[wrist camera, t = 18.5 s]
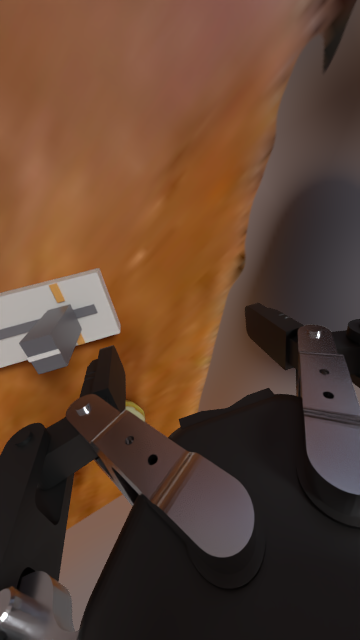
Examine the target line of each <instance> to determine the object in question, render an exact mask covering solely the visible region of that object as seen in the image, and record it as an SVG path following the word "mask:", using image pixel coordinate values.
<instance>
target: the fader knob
mask: <svg viewBox="0 0 360 640" xmlns="http://www.w3.org/2000/svg"><path fill="white" fill-rule="evenodd" d="M81 331H82V328H81V326H80V324H79V322H78V319H77V317H76V315H75V312H74V311H73V309H72V307H71V305H70V304H69V305H65V306H62V307H58V308H54V309H50V310H48V311H47V312H46V313H45V314H44V315H43V316H42V317H41V319H40V320H39V321H38V322H37V323H36V324H35V325H34V326H33V328H32V329H31V330H30V331H29V332H28V333H27V334H26V336H25V337H24V338H23V339H22V340H21V341H20V342H19V345H20V346H21V348H22V349H23V351H24V352H25V354H26V355H27V357H28V358H27V360H28V361H29V362H31V363H32V365H33V366H34V368H35V369H36V371H37V372H38V374H42V373H45V372H48V371H52V370H55V369H58V368H62V367H65V366H68V363H69V361H70V358H71V356H72V353H73V351H74V348H75V346H76V343H77V341H78V338H79V336H80V333H81Z"/></svg>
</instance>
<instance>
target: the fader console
mask: <svg viewBox="0 0 360 640" xmlns="http://www.w3.org/2000/svg"><path fill="white" fill-rule="evenodd" d="M69 304H70V305H71V307H72V309H73V311H74V312H75V315H76V317H77V319H78V322H79V324H80V326H81V328H82V331H81V333H80V336H79V338H78V341H77V343H76V346H77V345H81V344H84V343H87V342H91V341H94V340H98V339H101V338H104V337H108V336H111V335H115V334H118V333H120V326H121V325H120V322H119V320H118V317H117V314H116V312H115V309H114V306H113V304H112V301H111V298H110V296H109V293H108V290H107V288H106V285H105V282H104V280H103V277H102V274H101V272H100V269H99V268H97V269H93V270H89V271H85V272H81V273H77V274H74V275H70V276H66V277H62V278H58V279H54V280H50V281H46V282H42V283H38V284H34V285H30V286H26V287H22V288H18V289H14V290H10V291H6V292H2V293H0V368H1V367H5V366H8V365H12V364H15V363H18V362H22V361H25V360H27V358H28V357H27V355H26V354H25V352H24V351H23V349H22V348H21V346H20V345H19V342H20V341H21V340H22V339H23V338H24V337H25V336H26V334H27V333H28V332H29V331H30V330H31V329H32V328H33V326H34V325H35V324H36V323H37V322H38V321H39V320H40V319H41V317H42V316H43V315H44V314H45V313H46V312H47V311H48V310H50V309H54V308H58V307H62V306H65V305H69Z"/></svg>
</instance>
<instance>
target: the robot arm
mask: <svg viewBox="0 0 360 640" xmlns="http://www.w3.org/2000/svg"><path fill="white" fill-rule="evenodd" d="M245 317H246V329H247V333H248V335H249V337H250V338H251V339H252V340H253V341H254V342H255V343H256V344H257V345H258V346H259V347H261V349H263V350H264V351H265V352H266V353H267V354H268V355H269V356H270V357H271V358H272V359H273V360H275V361H276V362H277V363H278V364H279V365H280V366H281V367H282V368H283V369H284V370H288V369H291V368H295V369H296V396H294V395H288V394H273V392H272V391H271V390H270V389H269V388H267V389H264V390H261V391H258V392H256V393H253V394H250V395H247V396H246V397H244V398H242V399H241V400H240V401H238V402H236V403H235V404H233V405H232V406H230V407H228V408H225V409H217V410H208V411H201V412H198V413H195V414H192V415H189V416H187V417H184V418H181V419H179V422H180V426H181V427H180V428H178V429H177V430H176V431H174V432H173V433H172V434H171V435H170V436H169V437H168V438H167V437H166V436H165V435H163V434H162V433H160V432H159V431H157V430H156V429H154V428H153V427H151V426H150V425H149V424H147V423H146V422H144V421H143V420H141V419H140V418H138V417H137V416H135V415H134V414H133V413H131V412H130V411H128V410H126V385H125V372H124V368H123V365H122V363H121V361H120V358H119V356H118V353H117V351H116V348H115V347H114V345H113V346H109V347H106V348H103V349H100V351H99V356H98V359H96V360H93V361H92V362H91V363H90V365H89V366H88V367H87V371H86V375H85V379H84V380H85V381H84V383H83V386H82V390H81V394H80V398H79V399H77V400H76V401H74V402H73V403H72V404H71V405H70V407H69V408H68V409H67V412H66V417H65V418H64V419H62V420H60V421H59V422H57V423H55V424H53V425H51V426H50V427H48V428H45V427H44V425H43V424H41V423H34V424H30V425H28V426H26V427H24V428H22V429H21V430H19V431H18V432H17V433H16V434H14V435H13V436H12V437H11V438H10V440H9V441H8V442H7V444H6V445H5V447H4V449H3V451H2V453H1V455H0V640H360V406H359V403H358V400H357V396H356V393H355V390H354V387H353V383H354V384H355V385H356V386H358V387H359V388H360V319H356V320H352V321H350V322H349V323H348V328H347V330H346V331H336V332H331V331H330V329H328V328H326V327H324V326H320V325H303V324H301V323H299V322H297V321H295V320H294V319H292V318H290V317H288V316H287V315H285V314H283V313H282V312H280V311H278V310H275V309H271V308H267V307H265V306H263V305H262V304H260V303H255V304H252V305H249V306H246V307H245ZM352 382H353V383H352ZM92 460H94V461H95V462H96V463H97V464H98V466H99V467H100V468H101V469H102V470H103V471H104V472H105V473H106V475H107V476H108V477H109V478H110V479H111V480H112V481H113V482H114V484H115V485H116V486H117V487H118V488H119V490H120V491H121V492H122V494H123V495H124V496H125V498H126V499H127V500H128V501H129V503H130V504H131V505H132V506H133V507H132V509H131V511H130V513H129V516H128V518H127V519H126V522H125V524H124V526H123V528H122V530H121V532H120V534H119V536H118V539H117V541H116V543H115V545H114V547H113V549H112V552H111V553H110V556H109V558H108V560H107V562H106V564H105V566H104V569H103V570H102V573H101V575H100V577H99V579H98V581H97V583H96V585H95V588H94V590H93V592H92V594H91V596H90V598H89V601H88V604H87V606H86V609H85V612H84V615H83V618H82V621H81V625H80V629H79V630H78V631H76V632H75V630H74V626H73V621H72V600H71V596H70V593H69V591H68V589H67V588H66V587H65V586H63V585H62V584H61V583H59V582H58V580H59V573H60V566H61V559H62V553H63V546H64V539H65V533H66V526H67V519H68V512H69V505H70V498H71V491H72V485H73V478H74V472H76V471H77V470H79V469H80V468H82V467H83V466H85V465H86V464H88V463H89V462H91V461H92Z"/></svg>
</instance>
